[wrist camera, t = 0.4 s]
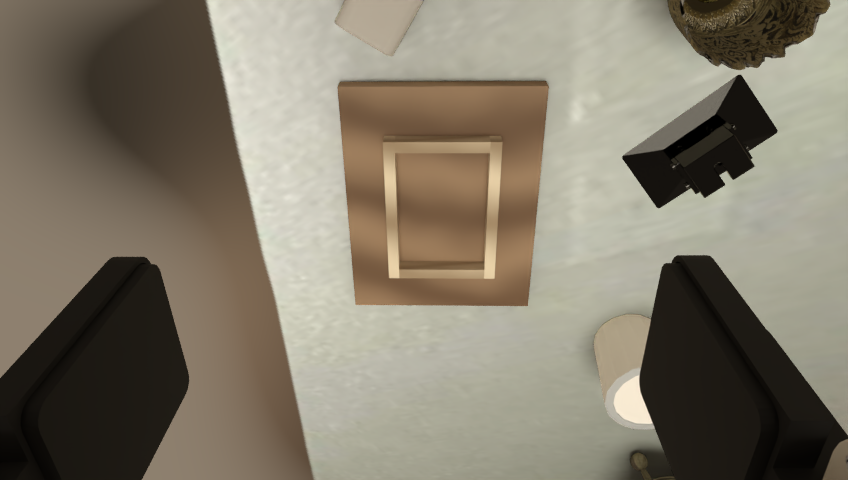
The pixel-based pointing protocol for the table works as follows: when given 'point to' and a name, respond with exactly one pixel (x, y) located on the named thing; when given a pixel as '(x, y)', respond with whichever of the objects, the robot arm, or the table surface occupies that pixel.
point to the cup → (745, 27)
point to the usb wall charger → (378, 21)
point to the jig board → (442, 189)
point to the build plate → (702, 145)
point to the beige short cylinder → (623, 368)
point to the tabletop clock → (641, 463)
